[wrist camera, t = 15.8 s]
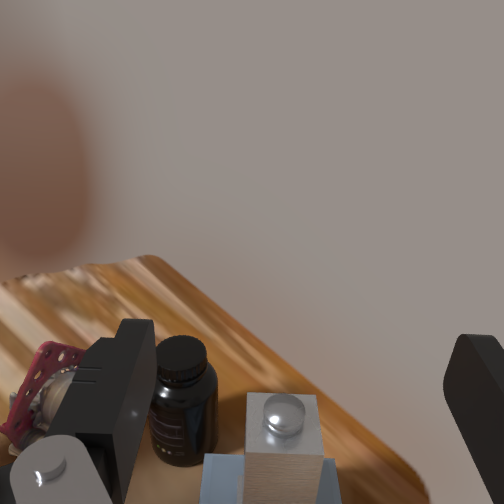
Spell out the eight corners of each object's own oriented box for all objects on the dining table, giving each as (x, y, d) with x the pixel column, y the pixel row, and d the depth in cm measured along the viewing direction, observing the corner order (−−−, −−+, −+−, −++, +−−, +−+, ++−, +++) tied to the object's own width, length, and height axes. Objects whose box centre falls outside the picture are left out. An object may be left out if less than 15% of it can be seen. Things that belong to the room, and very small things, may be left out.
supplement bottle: (176, 404, 51) (172, 318, 45) (230, 429, 48) (232, 341, 43) (136, 451, 46) (125, 360, 40) (193, 482, 43) (191, 390, 37)
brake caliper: (53, 353, 54) (90, 306, 46) (117, 420, 54) (165, 383, 47) (-38, 424, 45) (-9, 378, 37) (40, 504, 45) (84, 474, 38)
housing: (312, 556, 34) (334, 448, 28) (234, 553, 34) (239, 444, 28) (305, 483, 39) (322, 379, 33) (237, 481, 39) (242, 375, 33)
